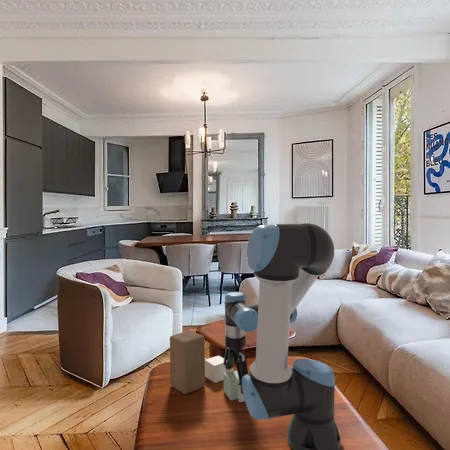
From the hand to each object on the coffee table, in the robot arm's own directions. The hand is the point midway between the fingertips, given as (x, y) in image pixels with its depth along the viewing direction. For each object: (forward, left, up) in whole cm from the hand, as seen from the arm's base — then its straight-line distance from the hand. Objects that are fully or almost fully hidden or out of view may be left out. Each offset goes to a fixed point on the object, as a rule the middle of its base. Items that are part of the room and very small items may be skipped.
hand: (235, 393), depth 133 cm
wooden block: (+12, +15, 0) cm, 19 cm away
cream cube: (+15, +2, 0) cm, 15 cm away
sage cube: (0, 0, 0) cm, 0 cm away
